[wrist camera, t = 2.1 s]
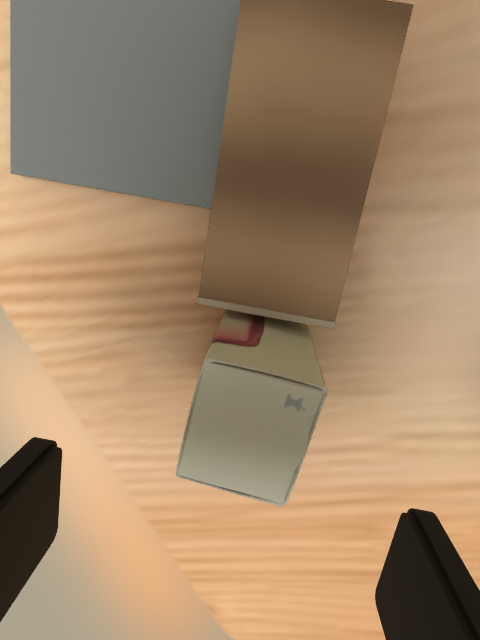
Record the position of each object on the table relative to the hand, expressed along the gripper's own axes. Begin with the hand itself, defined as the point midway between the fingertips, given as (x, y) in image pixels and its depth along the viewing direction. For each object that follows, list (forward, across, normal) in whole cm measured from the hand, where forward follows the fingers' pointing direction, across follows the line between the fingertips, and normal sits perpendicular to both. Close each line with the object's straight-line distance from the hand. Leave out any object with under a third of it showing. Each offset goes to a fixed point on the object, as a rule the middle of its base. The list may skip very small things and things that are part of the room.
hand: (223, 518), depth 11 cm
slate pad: (+11, +8, -13) cm, 18 cm away
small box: (+11, 0, -1) cm, 11 cm away
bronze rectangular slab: (+11, 0, -10) cm, 15 cm away
